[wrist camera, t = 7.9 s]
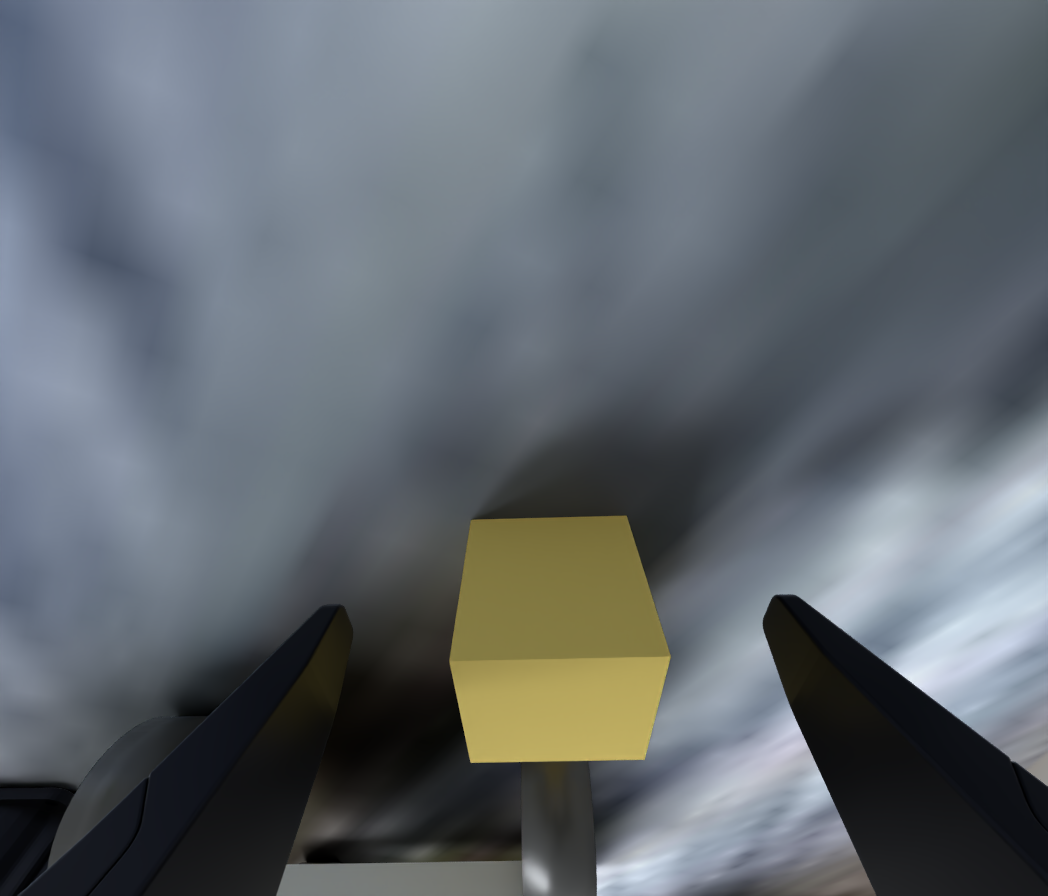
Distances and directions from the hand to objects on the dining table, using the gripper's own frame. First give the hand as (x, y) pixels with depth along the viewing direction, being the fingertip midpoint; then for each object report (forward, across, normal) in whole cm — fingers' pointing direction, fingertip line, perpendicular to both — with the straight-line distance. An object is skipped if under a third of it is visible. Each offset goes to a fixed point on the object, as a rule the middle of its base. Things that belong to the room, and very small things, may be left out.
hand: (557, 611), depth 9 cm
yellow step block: (+3, 0, +3) cm, 4 cm away
